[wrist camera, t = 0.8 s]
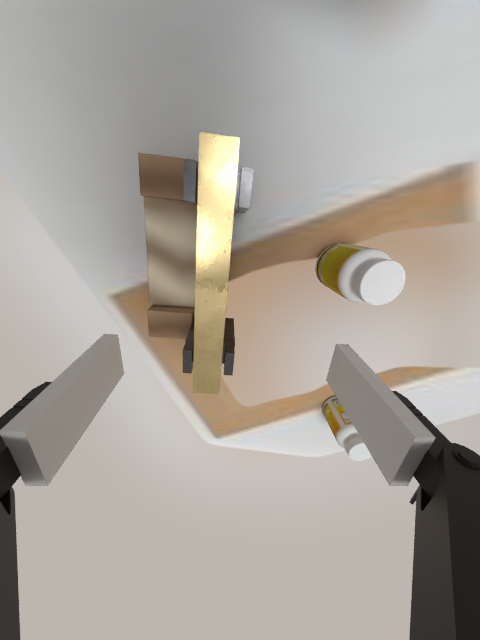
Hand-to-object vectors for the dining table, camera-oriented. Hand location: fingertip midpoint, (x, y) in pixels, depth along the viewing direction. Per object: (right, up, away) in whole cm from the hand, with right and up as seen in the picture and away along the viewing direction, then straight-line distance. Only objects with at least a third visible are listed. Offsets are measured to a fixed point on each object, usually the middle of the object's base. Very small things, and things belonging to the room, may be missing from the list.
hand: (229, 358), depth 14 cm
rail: (-2, +7, +11) cm, 13 cm away
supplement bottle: (+19, -14, +30) cm, 38 cm away
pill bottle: (+15, +10, +19) cm, 26 cm away
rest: (-8, +11, +18) cm, 22 cm away
